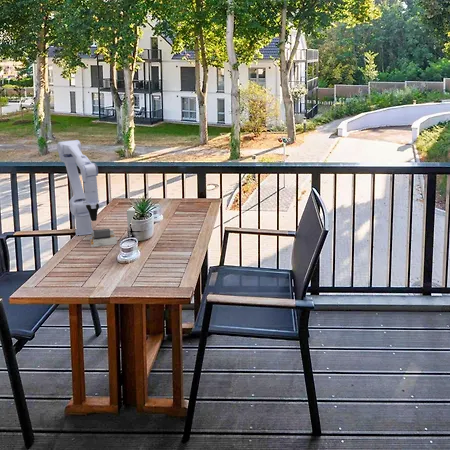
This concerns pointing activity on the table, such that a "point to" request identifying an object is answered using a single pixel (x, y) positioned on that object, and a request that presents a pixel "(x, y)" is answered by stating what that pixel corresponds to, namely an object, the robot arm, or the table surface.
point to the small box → (130, 214)
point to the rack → (103, 240)
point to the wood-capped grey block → (101, 233)
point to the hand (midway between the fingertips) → (93, 220)
